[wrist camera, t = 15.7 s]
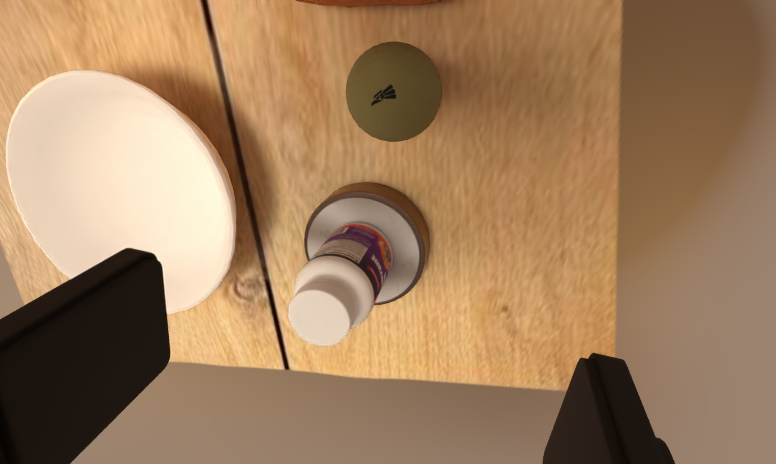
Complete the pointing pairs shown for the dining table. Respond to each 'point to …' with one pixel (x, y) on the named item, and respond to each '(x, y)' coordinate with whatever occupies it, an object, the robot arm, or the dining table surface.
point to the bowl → (121, 181)
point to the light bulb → (393, 91)
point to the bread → (366, 2)
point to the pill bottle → (340, 284)
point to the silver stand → (388, 217)
